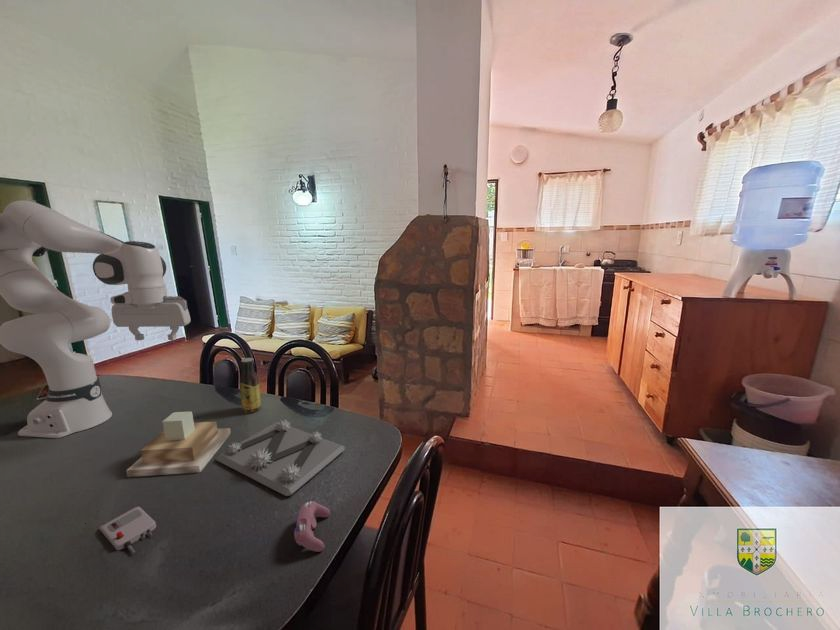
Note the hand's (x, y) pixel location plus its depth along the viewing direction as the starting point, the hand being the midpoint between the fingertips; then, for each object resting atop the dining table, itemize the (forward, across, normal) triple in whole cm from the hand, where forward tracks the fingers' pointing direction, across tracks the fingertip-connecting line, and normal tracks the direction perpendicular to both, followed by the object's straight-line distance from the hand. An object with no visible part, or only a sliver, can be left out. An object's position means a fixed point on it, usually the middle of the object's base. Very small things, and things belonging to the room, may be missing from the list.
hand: (156, 339), depth 101 cm
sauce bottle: (+31, -22, -9) cm, 39 cm away
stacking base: (+30, -12, +15) cm, 36 cm away
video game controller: (+30, -56, +46) cm, 78 cm away
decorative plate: (+31, -42, +19) cm, 55 cm away
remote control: (+31, -16, +41) cm, 54 cm away
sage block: (+24, -12, +15) cm, 31 cm away
